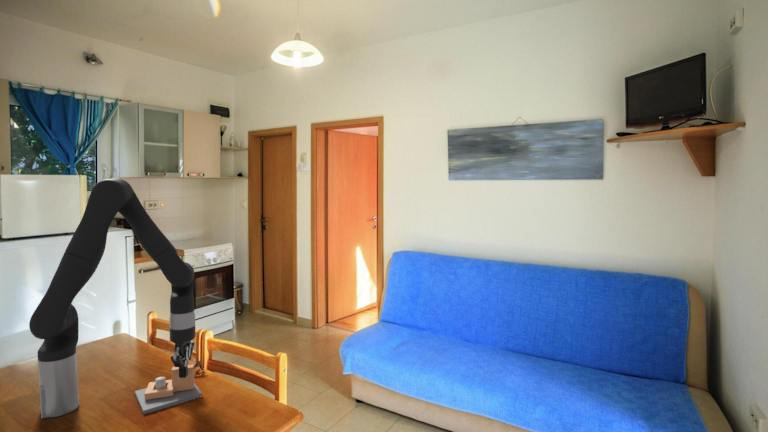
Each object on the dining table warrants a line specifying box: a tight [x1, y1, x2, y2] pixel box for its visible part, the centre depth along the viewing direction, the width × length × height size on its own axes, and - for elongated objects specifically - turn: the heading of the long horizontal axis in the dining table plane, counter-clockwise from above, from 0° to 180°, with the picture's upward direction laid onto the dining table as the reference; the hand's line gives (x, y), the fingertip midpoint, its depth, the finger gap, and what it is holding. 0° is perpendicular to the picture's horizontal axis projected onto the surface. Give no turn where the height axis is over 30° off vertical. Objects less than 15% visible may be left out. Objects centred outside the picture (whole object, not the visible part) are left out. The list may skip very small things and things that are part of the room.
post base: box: [134, 376, 203, 415], centre depth 139 cm, size 17×15×6 cm
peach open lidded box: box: [144, 364, 195, 400], centre depth 139 cm, size 14×8×8 cm, turn 109°
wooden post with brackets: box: [194, 359, 205, 373], centre depth 154 cm, size 2×8×4 cm, turn 147°
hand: (183, 376), depth 137 cm, fingers closed
